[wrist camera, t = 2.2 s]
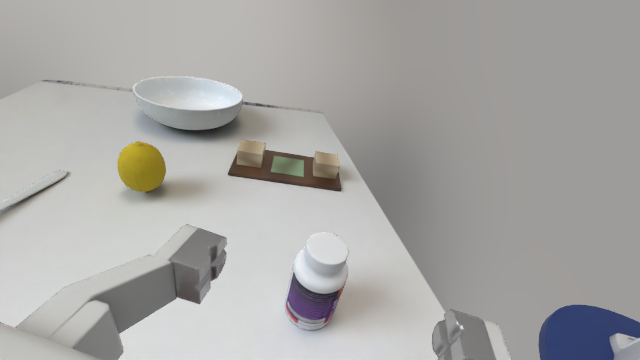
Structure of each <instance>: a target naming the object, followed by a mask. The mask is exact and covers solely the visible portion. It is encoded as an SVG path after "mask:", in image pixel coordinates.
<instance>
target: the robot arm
mask: <svg viewBox="0 0 640 360" xmlns="http://www.w3.org/2000/svg"><path fill="white" fill-rule="evenodd" d="M226 245H227V238H226V237H223V236H220V235H218V234H215V233H212V232H209V231H206V230H203V229H200V228H197V227H194V226H191V225H188V224H187V225H184V226H183V227H181V228H180V229H179V230H178V231H177V232H176V233H175V234H174V235H173V236H172V237H171V238H170V239H169V240H168V241H167V242H166V243H165V244H164V245H163V246H162V248H161V249H160V250H159V251H158V252H157V253H156V254H155V255H154V256H153V255H147V256H144V257H142V258H139V259H136V260H134V261H131V262H128V263H126V264H123V265H121V266H118V267H115V268H113V269H110V270H107V271H105V272H102V273H100V274H97V275H94V276H92V277H89V278H87V279H84V280H81V281H79V282H76V283H73V284H71V285H68V286H66V287H64V288H62V289H61V290H60V291H59V292H58V293H56V294H55V295H54V296H53V297H52V298H50V299H49V300H48V301H47V302H46V303H44V304H43V305H42V306H41V307H39V308H38V309H37V310H36V311H35V312H33V313H32V314H31V315H30V316H29V317H27V318H26V319H25V320H24V321H22V322H21V323H20V324H19V325H18V326H16V327H12V326H9V325H6V324H4V323H1V322H0V360H118V359H119V357H120V356H121V355H122V353H123V345H122V342H121V339H120V336H119V333H121V332H123V331H124V330H126V329H128V328H129V327H131V326H132V325H134V324H136V323H137V322H139V321H141V320H142V319H144V318H145V317H147V316H149V315H150V314H152V313H154V312H155V311H157V310H158V309H160V308H162V307H163V306H165V305H167V304H168V303H170V302H172V301H173V300H175V299H176V297H178V298H181V299H185V300H188V301H191V302H194V303H197V304H200V303H201V301H202V300H203V298H204V297H205V295H206V294H207V292H208V291H209V289H210V281H212V280H214V279H216V278H217V277H218V276H219V274H220V273H221V271H222V269H223V266H224V264H225V260H226V252H225V250H224V248H225V246H226ZM444 317H445V320H443V321H440V322H438V323H437V325H436V326H435V327H434V331H433V335H432V345H433V350H434V352H435V353H436V355H437V357H438V360H511V357H510V354H509V352H508V349H507V346H506V343H505V340H504V338H503V335H502V332H501V330H500V327H499V326H498V325H497V324H496V323H493V322H490V321H487V320H484V319H480V318H478V317H475V316H471V315H468V314H465V313H462V312H459V311H455V310H452V309H450V310H448V311H447V312H446V313H445V314H444ZM609 341H610V345H611V347H612V350H613V353H614V359H613V360H640V338H635V337H631V336H627V335H624V334H620V333H617V334H614V335H612V336H610V337H609Z"/></svg>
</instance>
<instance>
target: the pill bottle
mask: <svg viewBox="0 0 640 360" xmlns="http://www.w3.org/2000/svg"><path fill="white" fill-rule="evenodd" d="M348 254H349V250H348V246H347V244H346V243H345V241H344V240H343V239H342V238H340V237H339V236H337V235H335V234H333V233H330V232H317V233H315V234H313V235H311V236H310V237H309V239H308V240H307V243H306V246H305V248H304V249H302V250H301V251H300V252H299V253H298V254H297V256H296V258H295V261H294V264H293V269H292V273H291V278H290V282H289V287H288V291H287V295H286V301H285V309H286V313H287V315H288V317H289V319H290V320H291V321H292V322H293V323H294V324H295V325H296V326H298V327H300V328H302V329H306V330H316V329H319V328H321V327H323V326H325V325H326V324H327V323H328V322H329V320H330V319H331V317H332V315H333V313H334V310H335V308H336V305H337V302H338V300H339V297H340V295H341V292H342V290H343V288H344V285H345V283H346V280H347V277H348V267H347V264H346V260H347V257H348Z"/></svg>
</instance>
